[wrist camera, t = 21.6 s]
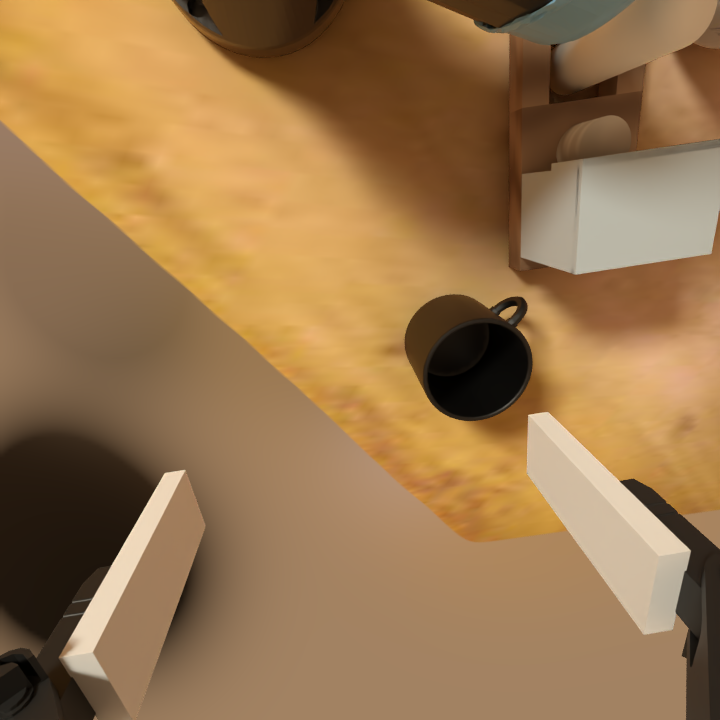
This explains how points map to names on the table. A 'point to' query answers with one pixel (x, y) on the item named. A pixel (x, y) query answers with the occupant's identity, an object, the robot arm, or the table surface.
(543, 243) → the cover
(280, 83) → the table surface
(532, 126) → the wooden tray
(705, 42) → the teacup
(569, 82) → the pin
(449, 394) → the mug
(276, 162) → the table surface
